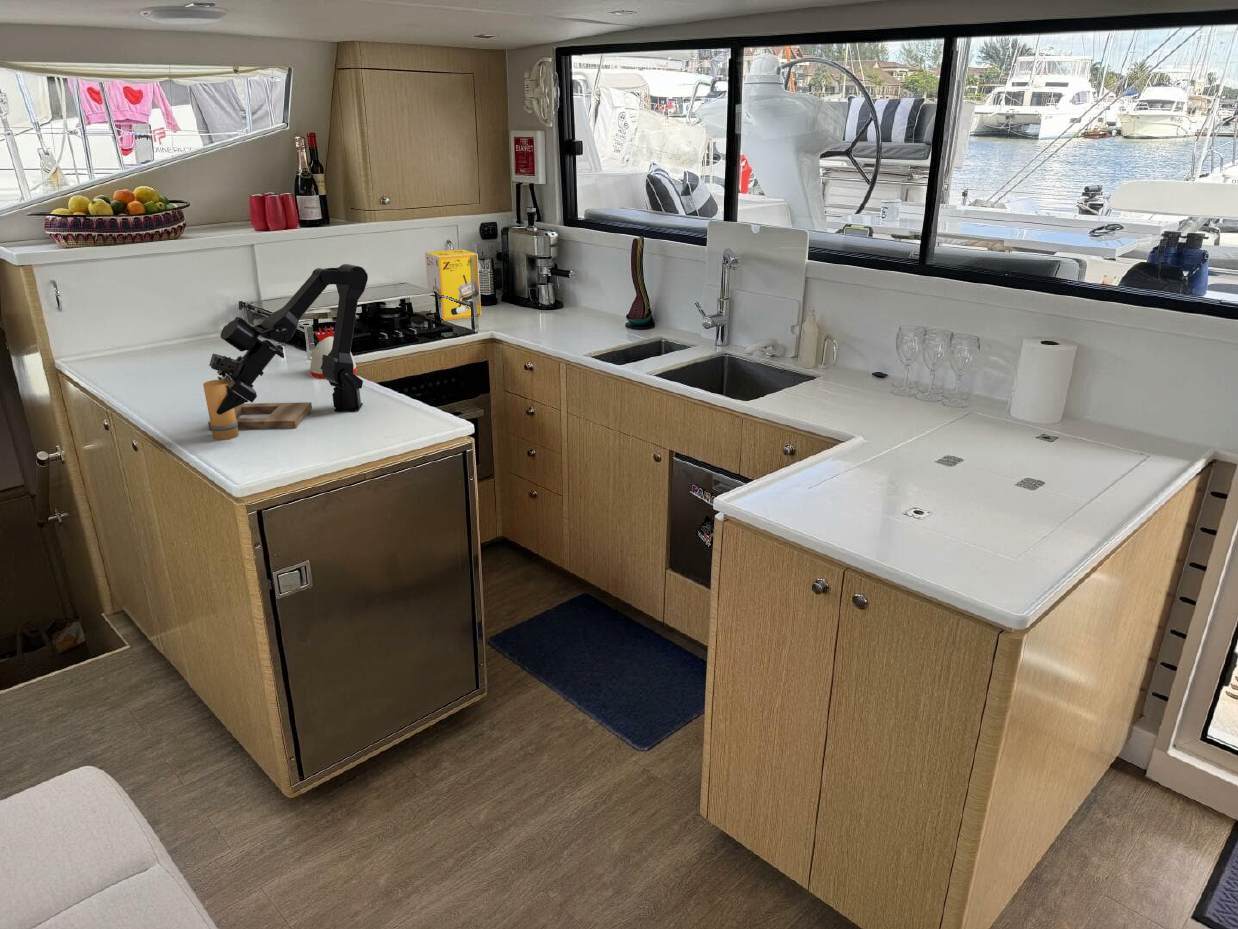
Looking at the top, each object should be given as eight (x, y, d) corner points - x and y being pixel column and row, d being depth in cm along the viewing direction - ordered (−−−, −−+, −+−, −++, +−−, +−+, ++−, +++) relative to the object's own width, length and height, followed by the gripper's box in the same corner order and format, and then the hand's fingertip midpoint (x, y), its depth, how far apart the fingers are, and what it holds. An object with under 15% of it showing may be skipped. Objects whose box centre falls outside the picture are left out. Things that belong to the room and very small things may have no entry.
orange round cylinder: (243, 431, 225) (234, 378, 220) (234, 439, 219) (224, 386, 214) (217, 431, 225) (208, 379, 219) (208, 440, 219) (198, 386, 213)
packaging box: (481, 316, 356) (477, 253, 347) (443, 320, 348) (438, 257, 339) (467, 309, 369) (463, 249, 360) (429, 313, 361) (424, 251, 352)
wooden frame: (312, 409, 242) (311, 402, 241) (295, 428, 227) (294, 420, 227) (231, 410, 241) (230, 403, 240) (209, 429, 226) (208, 422, 225)
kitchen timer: (307, 370, 280) (301, 324, 274) (351, 365, 286) (346, 320, 280) (315, 381, 268) (308, 333, 263) (360, 375, 274) (355, 328, 269)
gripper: (219, 334, 222) (180, 383, 221) (234, 349, 208) (192, 401, 206) (256, 360, 229) (219, 407, 228) (273, 376, 215) (233, 427, 213)
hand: (215, 410), depth 219 cm, fingers closed on orange round cylinder, 6 cm apart
